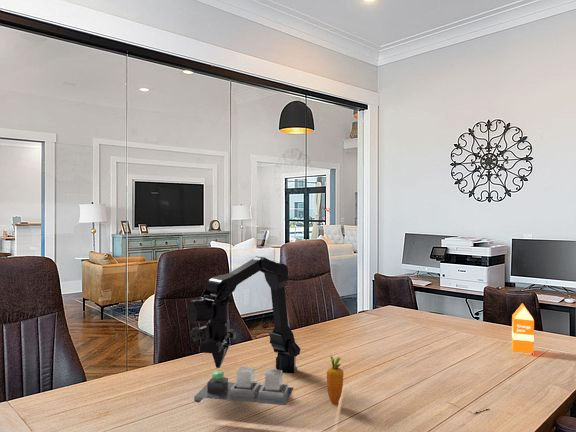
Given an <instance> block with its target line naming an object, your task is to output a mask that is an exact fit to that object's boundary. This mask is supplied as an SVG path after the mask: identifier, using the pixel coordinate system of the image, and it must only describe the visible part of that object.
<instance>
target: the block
mask: <svg viewBox="0 0 576 432" xmlns="http://www.w3.org/2000/svg"><path fill="white" fill-rule="evenodd" d="M264 375H265V376H264V379H265V380H264V383H265V391H269V392H282V384H283V373H282V370H277V369H276V368H275V369H274V368H268V369H267V371H266V372H265V373H264Z"/></svg>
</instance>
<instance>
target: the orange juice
mask: <svg viewBox="0 0 576 432" xmlns="http://www.w3.org/2000/svg"><path fill="white" fill-rule="evenodd" d="M511 316H512V317H511V350H512V349H513V351H512V353H513V352H523V353H533V354H534V341H535V320H534V318H533V316H532V315H531V313H530V312H529V310H528V309H527V308H526V306H525V305H524V303H523V302H522V303H520V306H519V307H518V308H517V309H516V310H515V312H513V314H511Z"/></svg>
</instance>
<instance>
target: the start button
mask: <svg viewBox="0 0 576 432" xmlns="http://www.w3.org/2000/svg"><path fill="white" fill-rule="evenodd" d="M211 374H212V375H211V378H212V379H214V380H220V379H223V378H225V373H224V372H223V371H221V370H217V371H213V372H212V373H211Z"/></svg>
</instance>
